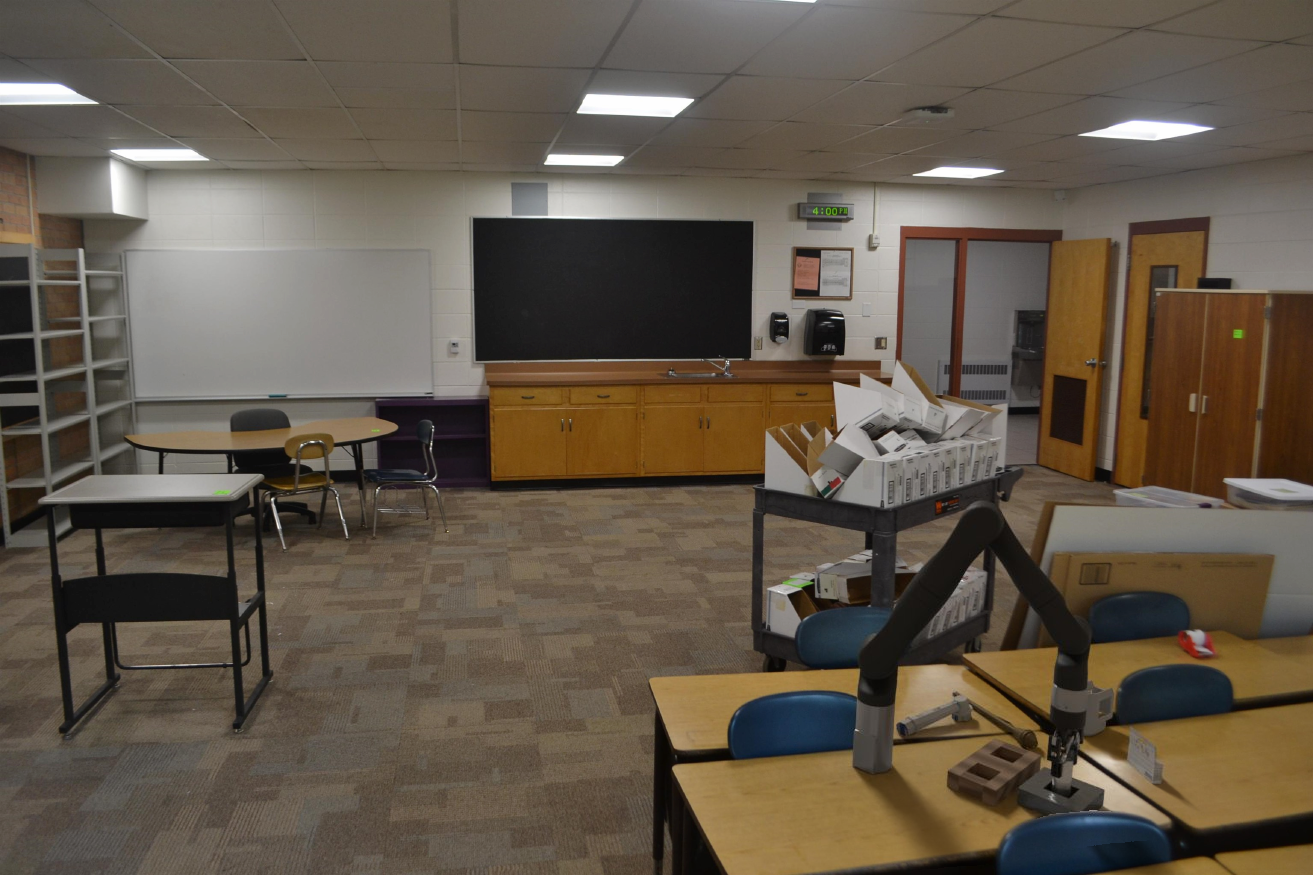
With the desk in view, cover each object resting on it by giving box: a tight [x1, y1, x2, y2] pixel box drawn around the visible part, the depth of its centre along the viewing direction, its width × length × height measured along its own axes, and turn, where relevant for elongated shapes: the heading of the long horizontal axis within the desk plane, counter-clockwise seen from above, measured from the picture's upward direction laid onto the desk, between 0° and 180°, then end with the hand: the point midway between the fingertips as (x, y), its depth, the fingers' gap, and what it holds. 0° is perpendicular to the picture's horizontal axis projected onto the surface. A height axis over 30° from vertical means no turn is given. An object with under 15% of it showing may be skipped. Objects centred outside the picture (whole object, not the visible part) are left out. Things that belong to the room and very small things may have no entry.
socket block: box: [1016, 766, 1105, 816], centre depth 213 cm, size 14×14×4 cm
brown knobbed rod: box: [951, 690, 1039, 748], centre depth 254 cm, size 5×35×5 cm
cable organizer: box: [1084, 679, 1115, 737], centre depth 249 cm, size 7×13×12 cm, turn 125°
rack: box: [946, 737, 1042, 807], centre depth 224 cm, size 24×12×4 cm, turn 134°
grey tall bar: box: [1052, 756, 1074, 798], centre depth 212 cm, size 4×4×11 cm
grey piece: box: [895, 694, 974, 737], centre depth 252 cm, size 5×7×25 cm
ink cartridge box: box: [1126, 726, 1164, 785], centre depth 227 cm, size 2×11×10 cm, turn 4°
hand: (1063, 769), depth 212 cm, fingers open, 8 cm apart
